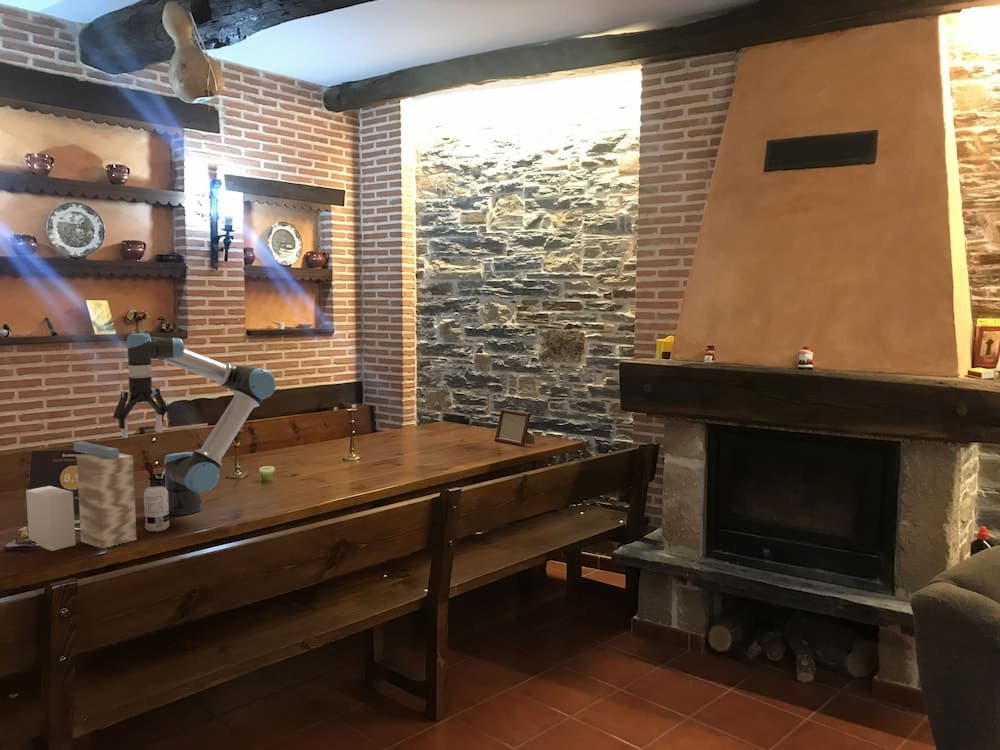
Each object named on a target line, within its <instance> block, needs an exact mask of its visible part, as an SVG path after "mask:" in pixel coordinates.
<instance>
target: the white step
mask: <svg viewBox="0 0 1000 750" xmlns="http://www.w3.org/2000/svg"><path fill="white" fill-rule="evenodd" d="M25 495H26V497H25V498H26V511H27V512H26V514H27V515H26V516H27V529H28V531H27V532H28V540H29V539H30V540H32V541H34V542H36V543H38V544H39V545H40V546H41V547H40V548H42V547H43V548H42V549H46V550H47V551H52V552H53V551H59V550H60V549H65V548H69V547H73V546H76V530H75V529H76V526H75V507H74V506H75V505H74V504H75V503H74V492H73V491H71V490H66V489H62V488H59V487H55V486H54V485H53V486H52V485H47V486H42V487H37V488H31V489H26V490H25Z"/></svg>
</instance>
